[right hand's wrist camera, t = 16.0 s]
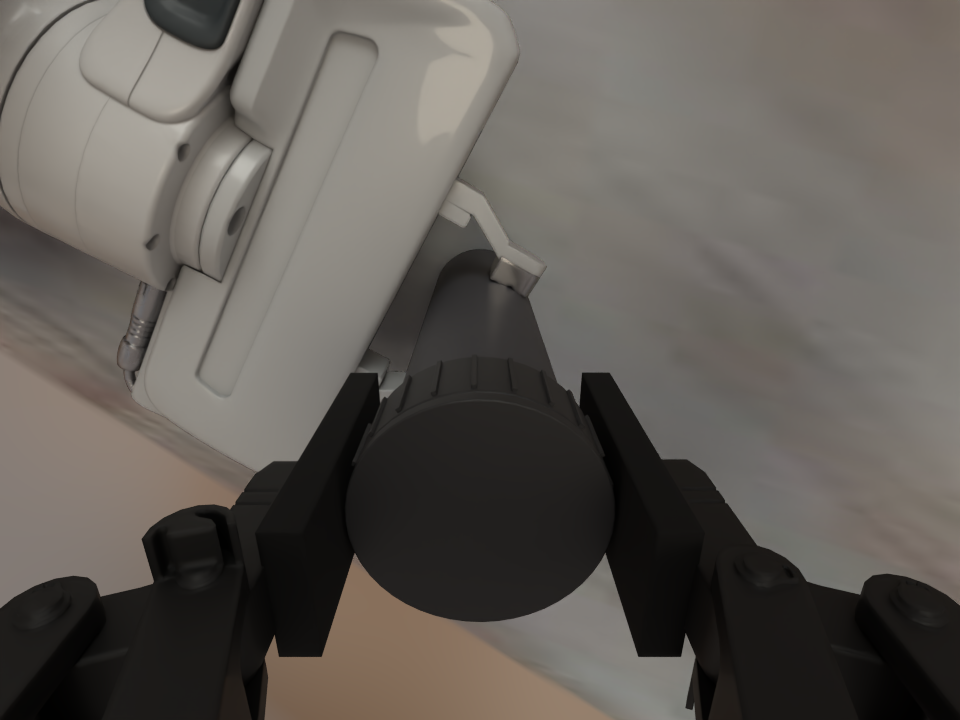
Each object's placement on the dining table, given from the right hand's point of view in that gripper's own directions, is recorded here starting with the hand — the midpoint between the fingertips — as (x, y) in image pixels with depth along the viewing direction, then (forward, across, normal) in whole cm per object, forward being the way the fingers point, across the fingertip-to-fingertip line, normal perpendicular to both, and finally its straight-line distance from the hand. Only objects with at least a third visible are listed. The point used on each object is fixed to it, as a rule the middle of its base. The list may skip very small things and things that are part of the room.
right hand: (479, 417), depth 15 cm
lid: (-4, 0, 0) cm, 4 cm away
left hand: (+8, -1, 0) cm, 8 cm away
